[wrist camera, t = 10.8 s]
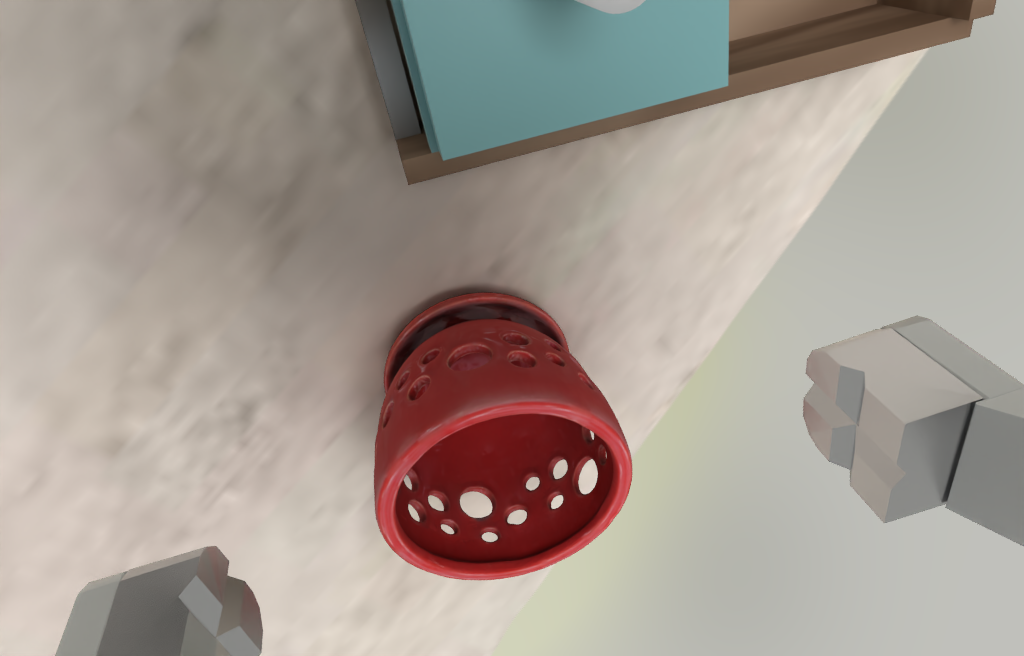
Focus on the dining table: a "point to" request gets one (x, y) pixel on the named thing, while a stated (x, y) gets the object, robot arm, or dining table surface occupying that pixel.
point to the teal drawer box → (553, 63)
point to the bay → (751, 69)
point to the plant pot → (492, 440)
